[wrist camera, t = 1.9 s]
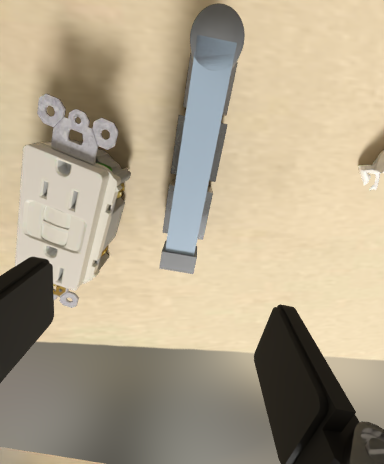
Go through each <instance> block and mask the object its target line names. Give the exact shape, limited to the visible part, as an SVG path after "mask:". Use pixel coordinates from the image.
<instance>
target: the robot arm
mask: <svg viewBox="0 0 384 464" xmlns="http://www.w3.org/2000/svg"><path fill="white" fill-rule="evenodd" d="M53 317H54V298H53V266H52V264H50V263H49V261H48V260H47V259H44V258H38V257H29V258H28V259H26V260H25V261H23V262H21V263H20V264H18V265H17V266H15V267H14V268H12V269H10V270H9V271H7V272H6V273H4V274H3V275H1V276H0V383H1V382H2V380H3V379H4V378H5V377H6V375H7V374H8V373H9V372H10V371H11V370H12V368H13V367H14V366H15V365H16V364H17V363H18V362H19V360H20V359H21V358H22V357H23V356H24V355H25V353H26V352H27V351H28V350H29V349H30V347H31V346H32V345H33V344H34V343H35V342H36V340H37V339H38V338H39V337H40V336H41V335H42V333H43V332H44V331H45V330H46V329H47V328H48V326H49V325H50V324H51V322H52V320H53ZM254 362H255V366H256V370H257V374H258V378H259V382H260V386H261V390H262V394H263V398H264V402H265V406H266V410H267V414H268V417H269V422H270V426H271V430H272V434H273V438H274V442H275V446H276V450H277V454H278V458H279V461H280V463H281V464H384V429H382V428H381V427H379V426H377V425H375V424H372V423H370V422H359V421H358V419H357V417H356V416H355V413H356V411H355V410H354V408H353V406H352V405H351V403H350V401H349V400H348V398H347V396H346V395H345V393H344V391H343V389H342V388H341V386H340V384H339V382H338V381H337V379H336V377H335V376H334V374H333V372H332V371H331V369H330V367H329V365H328V364H327V362H326V360H325V359H324V357H323V355H322V353H321V352H320V350H319V348H318V347H317V345H316V343H315V342H314V340H313V338H312V336H311V335H310V333H309V331H308V330H307V328H306V326H305V324H304V323H303V321H302V319H301V318H300V316H299V314H298V313H297V311H296V309H295V308H294V307H290V306H285V305H278V307H274V308H273V310H272V312H271V315H270V317H269V320H268V322H267V325H266V327H265V329H264V332H263V334H262V337H261V339H260V341H259V344H258V346H257V349H256V351H255V354H254ZM0 464H104V463H97V462H91V461H84V460H79V459H72V458H66V457H60V456H54V455H48V454H41V453H35V452H28V451H21V450H15V449H9V448H3V447H0Z"/></svg>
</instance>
